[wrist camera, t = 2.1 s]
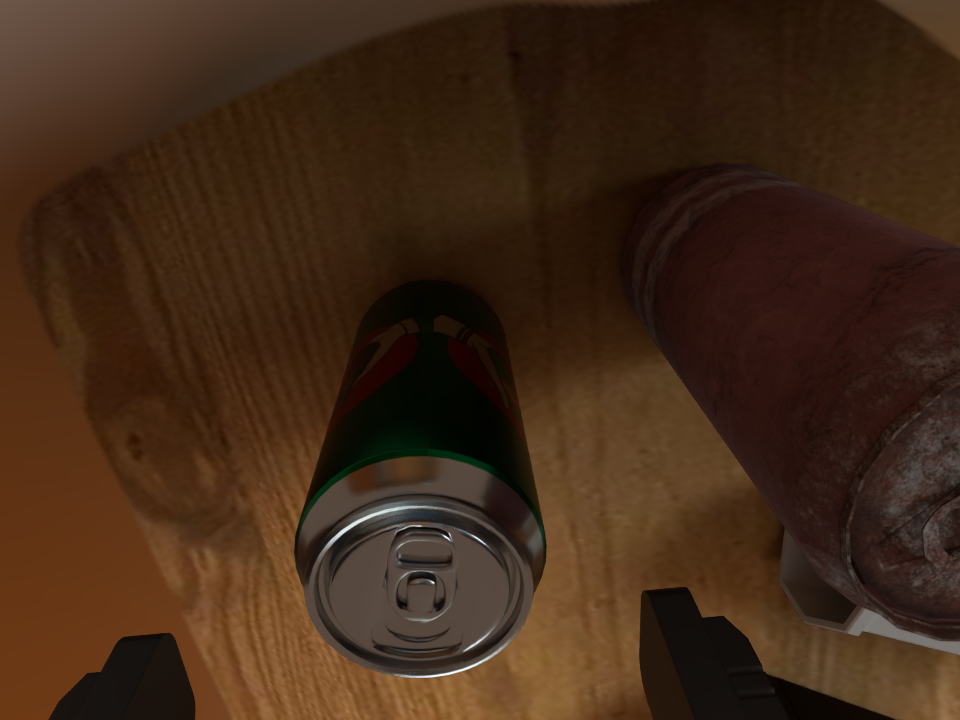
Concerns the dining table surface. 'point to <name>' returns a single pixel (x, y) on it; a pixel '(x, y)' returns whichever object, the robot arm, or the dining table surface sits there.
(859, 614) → the tube
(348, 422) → the soda can
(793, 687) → the holder
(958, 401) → the can
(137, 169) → the dining table surface
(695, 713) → the robot arm
